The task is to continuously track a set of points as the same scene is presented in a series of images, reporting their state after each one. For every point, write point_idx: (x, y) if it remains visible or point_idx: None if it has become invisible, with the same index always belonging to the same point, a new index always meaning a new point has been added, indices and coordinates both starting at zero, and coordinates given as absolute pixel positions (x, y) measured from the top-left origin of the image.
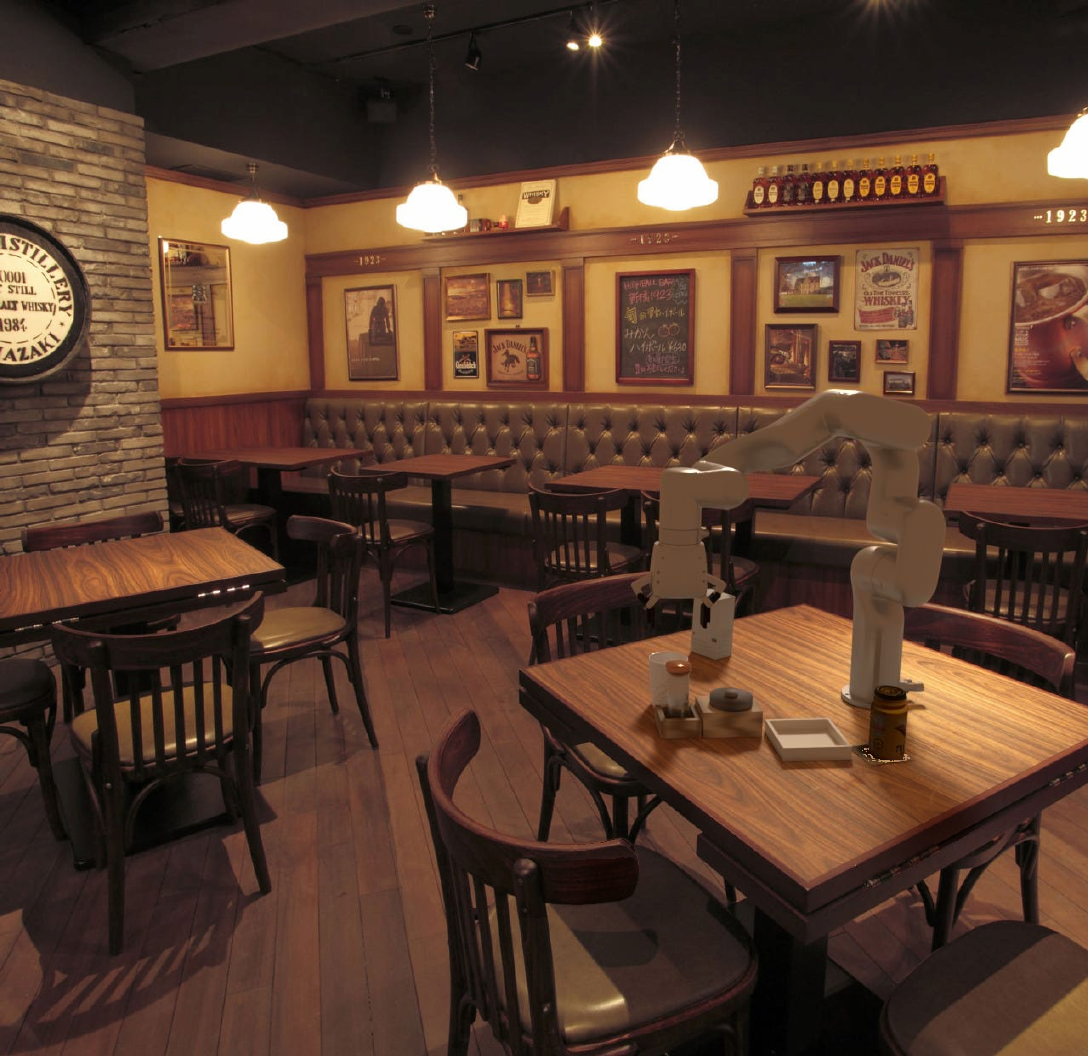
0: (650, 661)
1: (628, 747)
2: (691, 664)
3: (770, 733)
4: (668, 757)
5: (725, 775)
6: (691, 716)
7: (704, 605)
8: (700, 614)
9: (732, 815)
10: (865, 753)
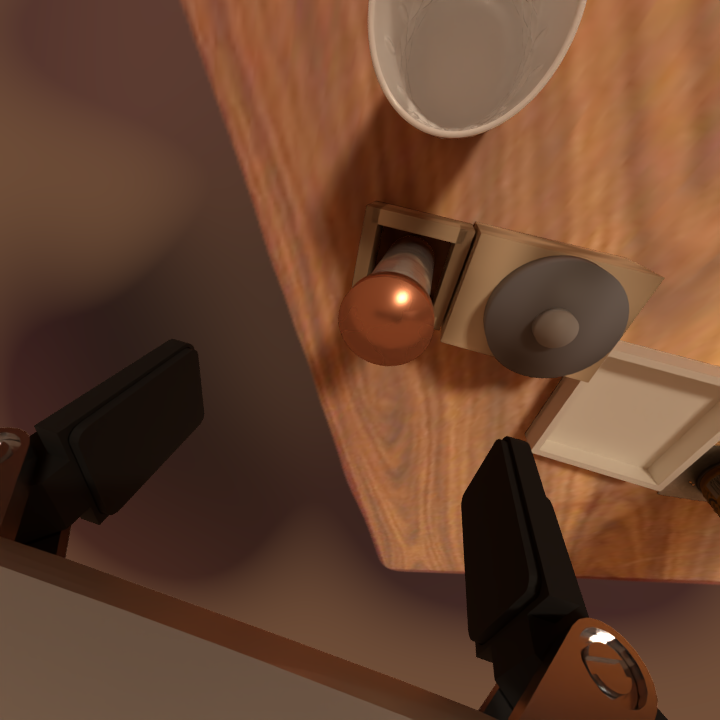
0: (369, 37)
1: (290, 304)
2: (430, 340)
3: (572, 379)
4: (347, 359)
5: (409, 431)
6: (448, 259)
7: (496, 663)
8: (508, 495)
9: (371, 493)
10: (696, 467)
